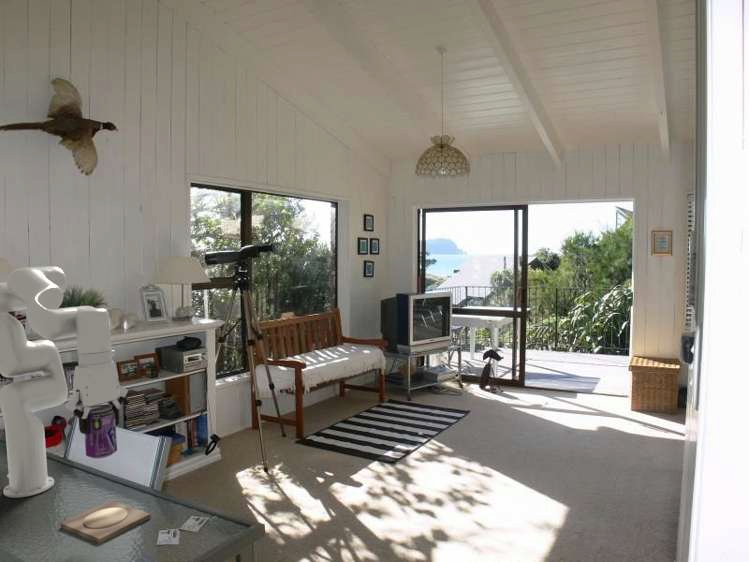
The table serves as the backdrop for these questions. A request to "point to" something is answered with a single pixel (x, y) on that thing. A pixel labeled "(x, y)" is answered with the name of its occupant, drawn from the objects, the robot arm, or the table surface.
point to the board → (105, 521)
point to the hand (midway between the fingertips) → (100, 428)
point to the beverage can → (101, 432)
